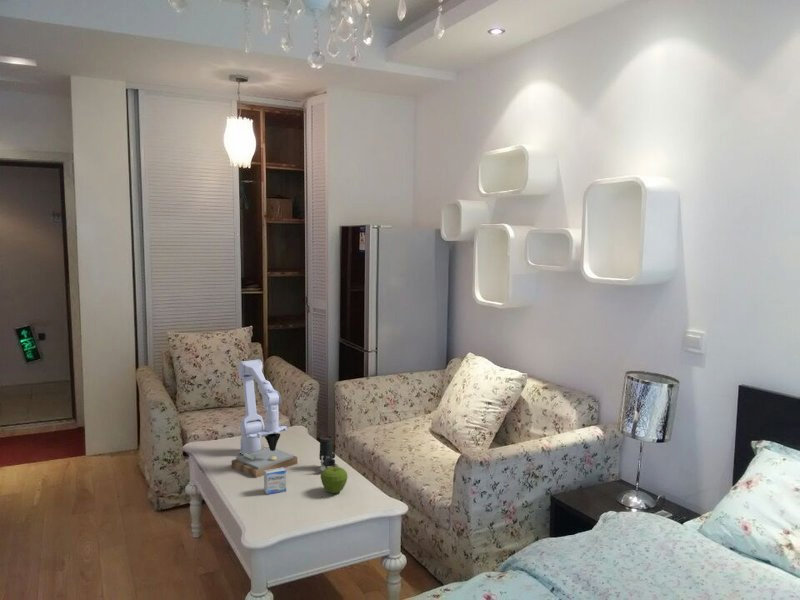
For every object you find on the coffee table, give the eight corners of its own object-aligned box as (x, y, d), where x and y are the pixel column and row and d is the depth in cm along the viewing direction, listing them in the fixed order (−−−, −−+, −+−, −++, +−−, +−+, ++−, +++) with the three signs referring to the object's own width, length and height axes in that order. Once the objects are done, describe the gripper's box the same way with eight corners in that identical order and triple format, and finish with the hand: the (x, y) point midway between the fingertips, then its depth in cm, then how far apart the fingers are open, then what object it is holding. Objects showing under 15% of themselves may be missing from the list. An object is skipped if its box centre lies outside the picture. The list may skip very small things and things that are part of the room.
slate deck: (235, 459, 267) (234, 453, 267) (270, 448, 281) (270, 443, 281) (258, 469, 256) (258, 463, 256) (293, 457, 270) (293, 451, 270)
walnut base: (231, 467, 267) (231, 460, 266) (272, 453, 283) (272, 447, 283) (256, 477, 255) (256, 470, 255) (297, 463, 271) (297, 456, 271)
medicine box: (267, 495, 238) (266, 473, 237) (264, 491, 242) (263, 469, 241) (286, 491, 241) (286, 470, 241) (283, 487, 245) (283, 466, 244)
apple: (316, 489, 243) (316, 465, 242) (340, 484, 248) (340, 460, 247) (327, 499, 234) (327, 474, 233) (352, 494, 239) (352, 469, 238)
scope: (320, 443, 257) (314, 436, 266) (320, 474, 258) (314, 466, 267) (339, 440, 260) (332, 433, 269) (339, 471, 262) (332, 464, 271)
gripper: (263, 425, 255) (264, 456, 256) (291, 417, 266) (291, 448, 267) (253, 422, 260) (254, 452, 261) (281, 414, 271) (281, 444, 272)
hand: (272, 450), depth 264 cm, fingers closed
